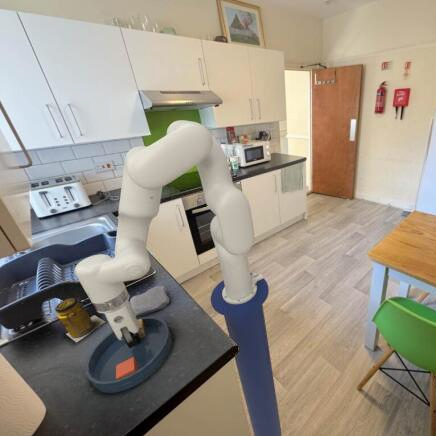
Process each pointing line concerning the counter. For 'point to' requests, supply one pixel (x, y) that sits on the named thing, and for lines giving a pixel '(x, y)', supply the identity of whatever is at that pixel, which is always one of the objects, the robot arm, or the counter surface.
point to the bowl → (119, 352)
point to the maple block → (141, 328)
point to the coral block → (126, 368)
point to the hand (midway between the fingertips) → (135, 343)
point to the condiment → (76, 319)
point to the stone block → (149, 301)
